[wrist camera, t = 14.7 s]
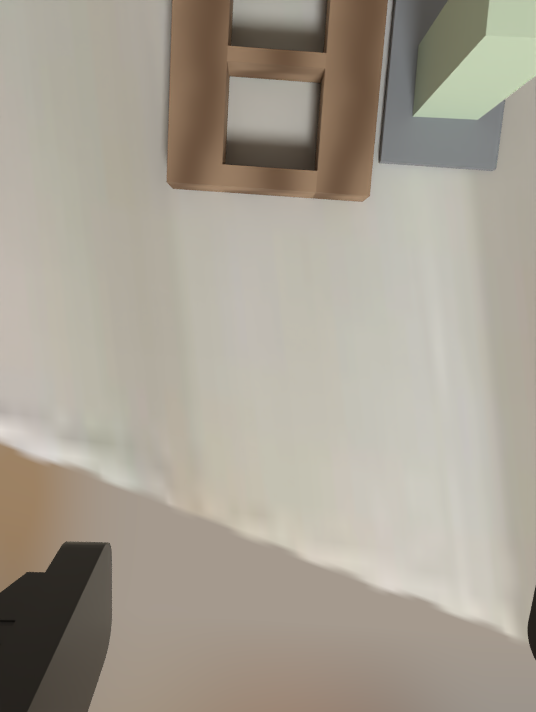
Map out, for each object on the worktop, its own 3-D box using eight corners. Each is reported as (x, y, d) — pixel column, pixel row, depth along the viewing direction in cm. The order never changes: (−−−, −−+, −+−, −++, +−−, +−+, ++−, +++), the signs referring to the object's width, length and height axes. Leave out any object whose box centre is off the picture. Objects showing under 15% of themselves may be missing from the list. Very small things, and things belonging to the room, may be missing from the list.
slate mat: (378, 162, 37) (380, 160, 37) (394, -6, 35) (397, -11, 35) (492, 170, 37) (496, 169, 37) (514, 3, 36) (518, -2, 35)
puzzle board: (173, 188, 37) (166, 181, 35) (181, -68, 35) (175, -95, 32) (362, 201, 38) (369, 195, 35) (385, -52, 35) (394, -78, 32)
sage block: (412, 116, 36) (485, 35, 24) (418, 45, 35) (497, -75, 24) (477, 119, 36) (582, 40, 24) (485, 48, 36) (596, -69, 24)
